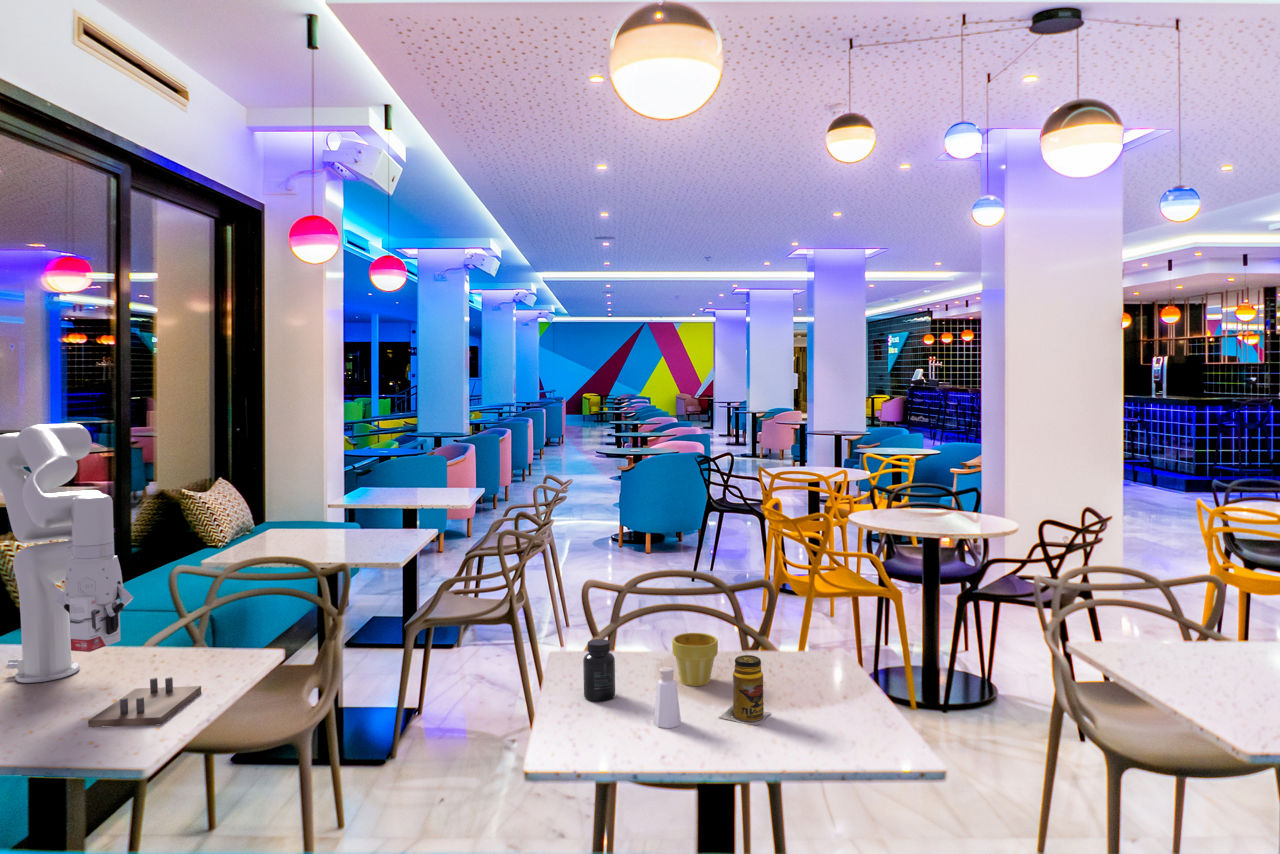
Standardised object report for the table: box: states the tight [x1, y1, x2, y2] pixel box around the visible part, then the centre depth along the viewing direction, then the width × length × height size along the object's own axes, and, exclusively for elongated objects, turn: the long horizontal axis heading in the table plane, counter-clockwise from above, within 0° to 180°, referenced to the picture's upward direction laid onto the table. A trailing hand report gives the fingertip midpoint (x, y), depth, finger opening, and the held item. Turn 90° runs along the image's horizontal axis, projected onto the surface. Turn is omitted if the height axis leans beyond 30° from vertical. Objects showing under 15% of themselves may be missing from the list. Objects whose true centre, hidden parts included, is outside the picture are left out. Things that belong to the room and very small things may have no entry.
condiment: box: [718, 654, 772, 726], centre depth 167 cm, size 7×8×12 cm
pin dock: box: [87, 676, 202, 728], centre depth 175 cm, size 14×18×4 cm
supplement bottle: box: [582, 638, 616, 703], centre depth 178 cm, size 7×7×12 cm
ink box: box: [69, 596, 121, 653], centre depth 180 cm, size 9×5×12 cm, turn 169°
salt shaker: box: [653, 666, 682, 729], centre depth 163 cm, size 5×5×11 cm
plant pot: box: [671, 632, 719, 687], centre depth 187 cm, size 10×10×10 cm
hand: (96, 632), depth 180 cm, fingers closed on ink box, 5 cm apart
